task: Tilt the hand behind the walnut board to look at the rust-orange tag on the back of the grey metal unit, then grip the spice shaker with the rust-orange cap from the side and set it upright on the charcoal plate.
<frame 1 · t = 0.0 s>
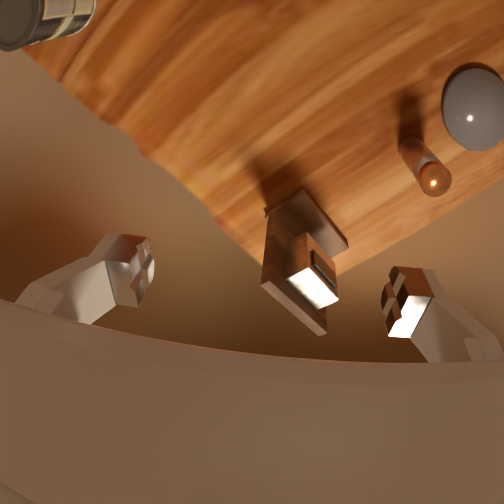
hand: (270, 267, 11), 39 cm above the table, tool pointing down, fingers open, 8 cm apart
spice shaker: (411, 148, 44), on the table
wooden mounting board: (308, 228, 57), on the table
coffee can: (72, 7, 33), on the table
charcoal plate: (477, 108, 37), on the table
grey metal unit: (312, 270, 48), point 11 cm above the table
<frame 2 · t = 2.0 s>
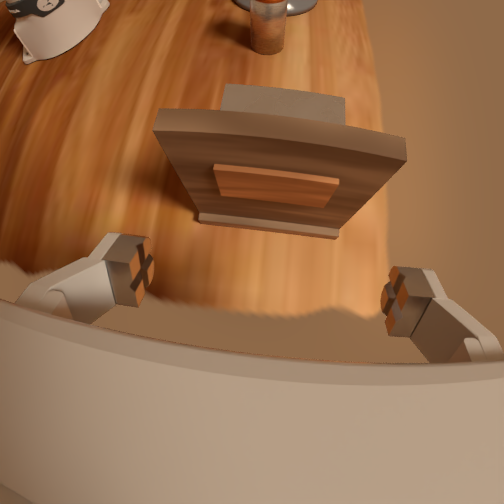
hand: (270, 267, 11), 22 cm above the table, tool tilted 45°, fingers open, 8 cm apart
spice shaker: (267, 44, 38), on the table
wooden mounting board: (272, 194, 34), on the table
grey metal unit: (279, 139, 23), point 11 cm above the table
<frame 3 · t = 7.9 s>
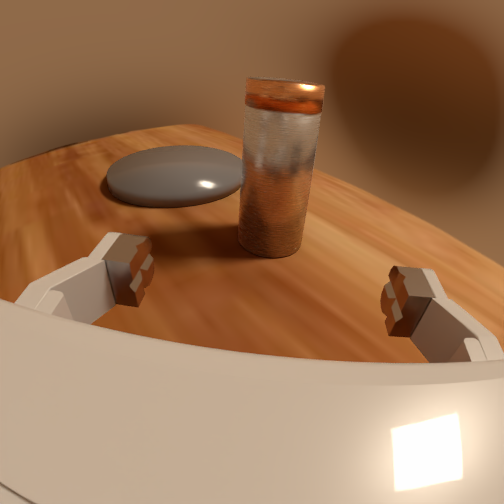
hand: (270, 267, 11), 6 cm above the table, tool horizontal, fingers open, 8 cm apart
spice shaker: (269, 239, 23), on the table
charcoal plate: (175, 176, 32), on the table
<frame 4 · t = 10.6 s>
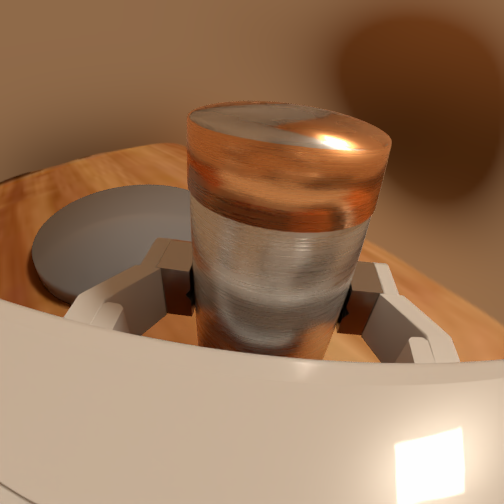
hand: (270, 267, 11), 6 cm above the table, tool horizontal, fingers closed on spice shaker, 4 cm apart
spice shaker: (254, 388, 13), on the table, touching gripper
charcoal plate: (127, 239, 22), on the table
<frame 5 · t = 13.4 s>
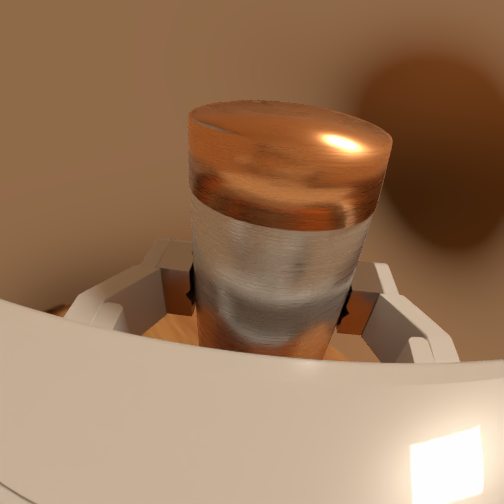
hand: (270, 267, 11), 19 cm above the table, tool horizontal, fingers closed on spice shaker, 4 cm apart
spice shaker: (255, 387, 13), point 13 cm above the table, touching gripper
when the fingers open (9 cm above the table, at t = 16.0 s): spice shaker drops 1 cm, resting on charcoal plate.
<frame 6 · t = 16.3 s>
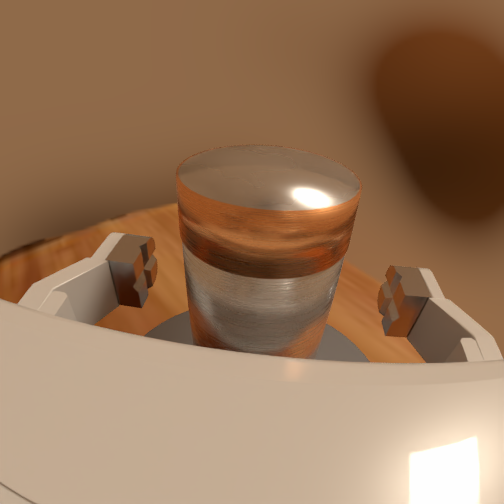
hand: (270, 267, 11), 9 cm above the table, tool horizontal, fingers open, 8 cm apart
spice shaker: (249, 401, 14), point 1 cm above the table, touching charcoal plate
charcoal plate: (249, 413, 15), on the table
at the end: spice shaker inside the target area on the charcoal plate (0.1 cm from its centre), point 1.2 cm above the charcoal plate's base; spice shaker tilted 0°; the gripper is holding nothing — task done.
